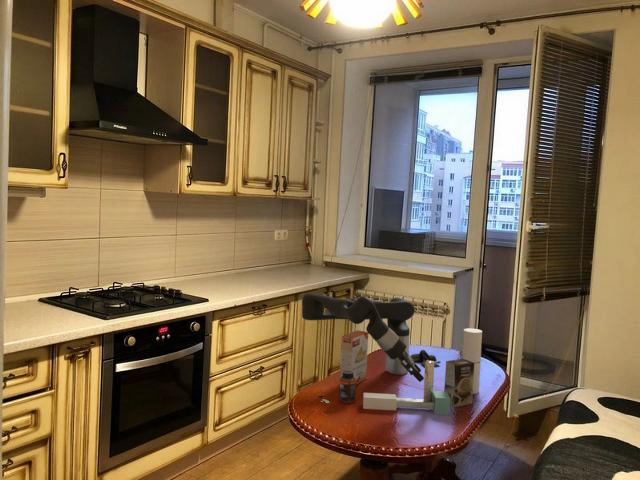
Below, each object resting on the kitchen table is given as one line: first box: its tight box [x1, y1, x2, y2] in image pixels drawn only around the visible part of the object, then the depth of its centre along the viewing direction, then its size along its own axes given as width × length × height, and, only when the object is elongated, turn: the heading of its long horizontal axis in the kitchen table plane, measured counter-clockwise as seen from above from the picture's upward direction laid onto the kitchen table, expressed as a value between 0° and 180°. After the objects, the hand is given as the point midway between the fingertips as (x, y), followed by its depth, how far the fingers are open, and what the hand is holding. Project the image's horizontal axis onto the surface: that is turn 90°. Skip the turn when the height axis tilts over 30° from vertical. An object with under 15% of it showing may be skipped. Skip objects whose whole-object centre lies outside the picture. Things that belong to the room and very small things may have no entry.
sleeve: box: [362, 392, 398, 411], centre depth 191 cm, size 12×5×4 cm, turn 86°
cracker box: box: [338, 329, 369, 386], centre depth 215 cm, size 14×6×21 cm, turn 148°
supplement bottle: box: [339, 370, 357, 404], centre depth 195 cm, size 6×6×11 cm
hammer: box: [396, 360, 435, 410], centre depth 189 cm, size 20×3×17 cm, turn 86°
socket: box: [432, 390, 451, 416], centre depth 189 cm, size 5×7×6 cm
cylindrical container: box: [461, 327, 483, 395], centre depth 210 cm, size 7×7×25 cm
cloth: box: [410, 349, 442, 369], centre depth 250 cm, size 22×19×6 cm
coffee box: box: [443, 358, 474, 408], centre depth 197 cm, size 9×6×16 cm
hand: (420, 376), depth 188 cm, fingers open, 8 cm apart
